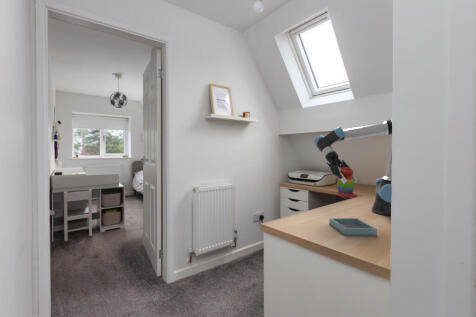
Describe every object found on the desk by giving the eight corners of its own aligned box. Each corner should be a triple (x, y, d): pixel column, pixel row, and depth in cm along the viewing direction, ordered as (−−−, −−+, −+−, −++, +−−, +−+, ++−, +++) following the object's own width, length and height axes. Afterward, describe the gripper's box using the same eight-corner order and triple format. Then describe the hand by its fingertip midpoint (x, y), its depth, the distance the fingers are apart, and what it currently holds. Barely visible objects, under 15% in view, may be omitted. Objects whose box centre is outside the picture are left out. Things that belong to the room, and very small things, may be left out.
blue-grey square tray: (357, 224, 129) (357, 218, 129) (376, 236, 112) (377, 229, 112) (329, 224, 129) (329, 218, 129) (344, 235, 112) (345, 228, 112)
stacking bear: (358, 197, 136) (359, 167, 135) (341, 197, 136) (342, 167, 135) (349, 193, 147) (350, 166, 146) (333, 193, 147) (334, 166, 146)
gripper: (337, 158, 159) (358, 185, 145) (315, 158, 149) (334, 187, 136) (344, 150, 154) (366, 177, 140) (321, 150, 144) (342, 179, 131)
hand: (350, 182), depth 138 cm, fingers closed on stacking bear, 8 cm apart
